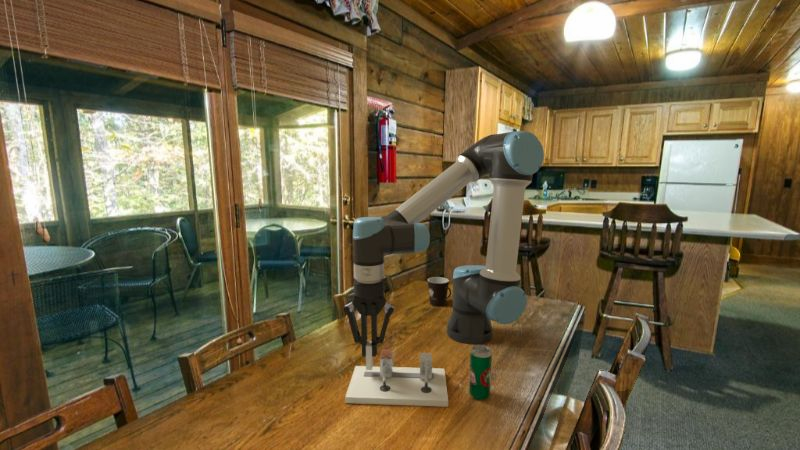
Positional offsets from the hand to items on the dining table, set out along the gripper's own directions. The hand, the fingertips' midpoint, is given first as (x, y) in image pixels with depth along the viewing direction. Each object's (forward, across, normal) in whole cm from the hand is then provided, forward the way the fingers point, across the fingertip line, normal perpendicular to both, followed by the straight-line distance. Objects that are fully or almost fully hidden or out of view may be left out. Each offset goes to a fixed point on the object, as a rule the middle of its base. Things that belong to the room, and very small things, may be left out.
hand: (369, 367), depth 96 cm
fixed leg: (+2, +15, -2) cm, 15 cm away
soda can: (+4, +28, -5) cm, 28 cm away
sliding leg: (+2, +4, -2) cm, 5 cm away
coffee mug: (+4, +21, +55) cm, 59 cm away
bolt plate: (+4, +8, -3) cm, 9 cm away
